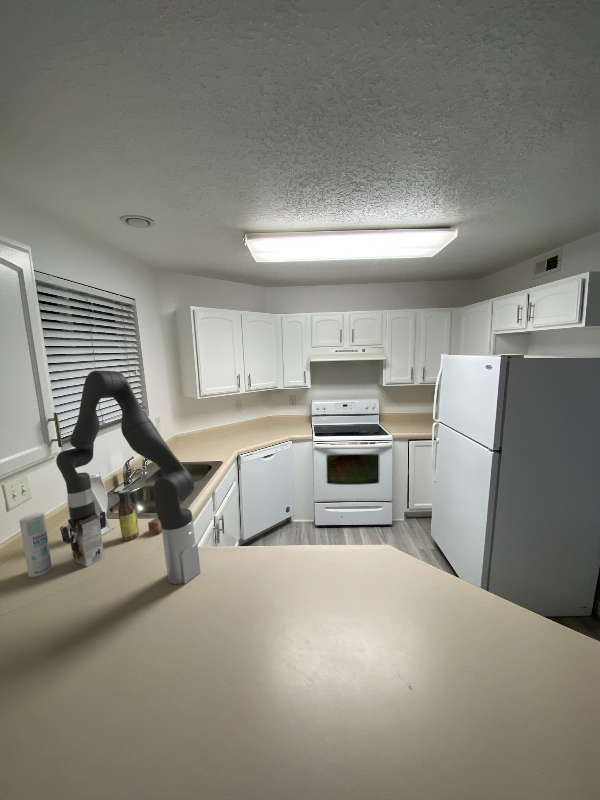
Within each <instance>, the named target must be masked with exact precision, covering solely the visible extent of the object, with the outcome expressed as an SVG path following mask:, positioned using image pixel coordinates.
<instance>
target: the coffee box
mask: <svg viewBox="0 0 600 800" xmlns="http://www.w3.org/2000/svg"><path fill="white" fill-rule="evenodd" d="M70 521H71V520H70V518H69V519H67V522H68V524H67V525H69V524H70ZM75 525H76V529H74V528H72V527H70V530H69V536H70V538H71V535H72V531H73V532H75V533H76V532H77V533H78V535H77V542H78V548H79V551H78V552H74V551H72V556H73V561H74V563H77V564H79V565H82V566H83V567H86V568H87V567H89V566H92V565H93V564H96V563H97V562H99V561H101V560H103V559H105V551H104V545H103V544H104V543H103V535H102V534H101V526H100V519H99V516H97V515H92V516H90V517H86V518H84V519H81V520H79V521H77V522H75Z"/></svg>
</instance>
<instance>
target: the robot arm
mask: <svg viewBox="0 0 600 800" xmlns="http://www.w3.org/2000/svg"><path fill="white" fill-rule="evenodd" d="M111 398H112V399H114V400H115V401H116V402H117V404H118V406H119V408H120V410H121V414H122V415H121V420H120V421H121V423H120V426H121V427H120V428H121V429H120V430H121V431H120V432H121V434H122V436H123V437H124V439H125V440H126V442H127V443H128V445H129V446H130V449H132V450H133V451H134V452H135V453H136V454H138V455H140V456H141V457H143V458H145V459H146V460H148V461H150V462H152V463H154V464H155V465H156V466H158V468H159V469H160V470H161V471H162V472H163V474H164V475H163V476H161V477H159V478H157V479H156V480H155V481H154V483H153V488H152V493H153V498H154V504H155V505H154V506H155V509H156V515H157V516H156V517H158V519H159V521H160V523H161V528H162V533H161V536H162V543H163V550H164V551H163V552H164V559H165V565H166V566H165V567H166V574H167V582H168V583H169V584H173V585H174V584H175V585H179V584H187V583H188V582H190V581H191V580H192V579H194V578H195V577H196V576H197V575H198V574H200V573H201V572H202V571H201V566H200V565H201V564H200V556H199V555H200V554H199V545H198V543H196V538H195V530H194V529H195V528H194V519H193V513H192V510H191V509H188V508H181V505H180V501H182V500H184V499H186V498H187V497H189V496H190V495H191V494H193V493H194V490H195V481H194V478H193V477H192V475H191V474H190V472H189V471H188V470H187V468H186V467H185V466H184V465H183V463H181V461H180V459H179V458H177V456H176V455H175V454H174V453H173V451H172V450H171V448H170V447H169V445H168V444H167V442H165V440H164V438H163V437H162V436H161V434H160V432H159V430H158V429H157V427H156V426H155V424H154V423H153V422H152V421H151V419H150V418H149V416H148V415H147V413H146V411H145V410H144V409H143V406H142V405H141V403H140V402H139V400H138V399H137V396H136V394H135V393H134V391H133V389H132V386H131V385H130V383H129V381H128V379H127V378H126V376H125V375H124V374H123V373H121V372H120V371H116V370H115V371H114V370H93V371H91V372H89V373H88V374H87V376H86V377H85V380H84V384H83V387H82V393H81V398H80V404H79V405H80V406H79V410H78V416H77V420H76V423H75V426H74V428H73V431H72V433H71V435H70V439H69V444H70V445H71V447H73V448H70V449H65V450H62V451H60V452H58V454H57V455H56V459H55V462H56V463H55V464H56V466H57V468H58V470H59V472H60V473H61V475H62V477H63V480H64V482H65V486H66V493H67V495H66V496H67V498H66V499H67V507H68V514H69V519H70V520H71V521H70V524H66V525H65V526H63V525H62V526H60V528H59V530H60V534H61V538H62V541H63V543H65V544H70V547H71V551H72V552H73V551H74V552H78V551H79V548H78V542H77V535H78V533H77V532H76V533H75V532H73V531H72V535H71V537H70V531H69V530H70V527H72V528H74V529H76V525H75V522H77V521H79V520H81V519H84V518H86V517H90V516H92V515H97V516H99V519H100V526H101V529H103V528H105V527H106V517H107V513H105V512H103V511H100V512H99V513H96V512H95V504H94V497H93V492H92V489H91V482H90V474H89V473H88V472H77V470H76V469H77V468H80V467H85V466H86V465H88V464H89V463H90V462H92V460H93V458H94V448H95V444H94V443H95V441H96V438H97V436H98V433H99V432H100V426H101V423H100V419H99V416H98V413H97V406H98V404H99V402H100V401H101V399H111Z"/></svg>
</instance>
